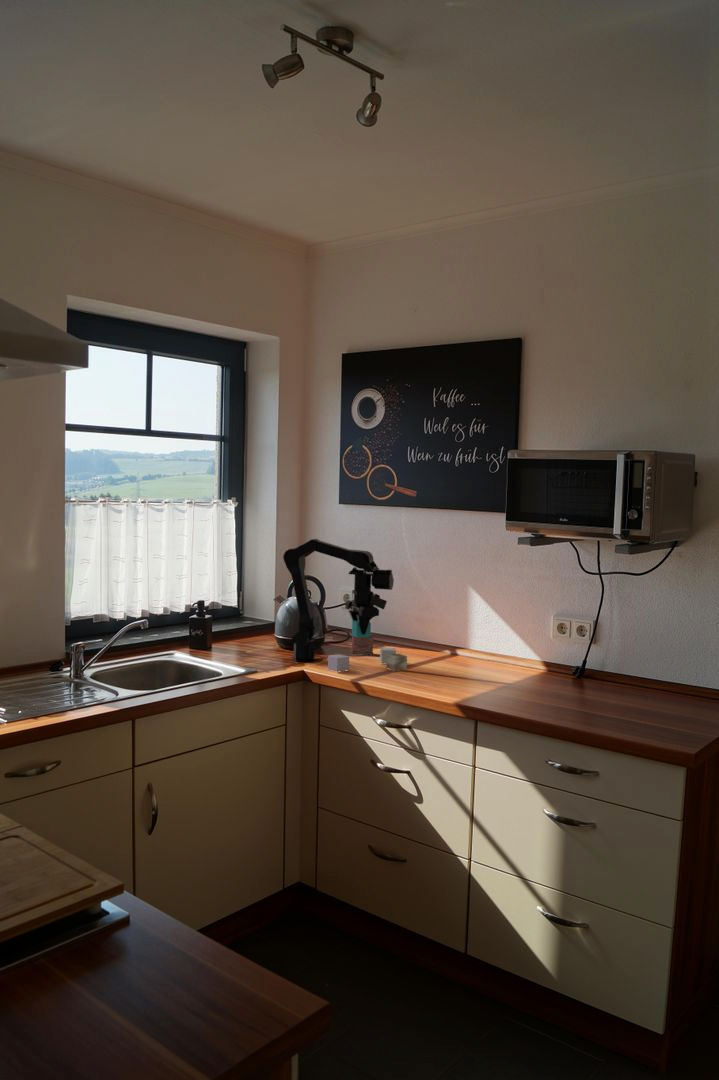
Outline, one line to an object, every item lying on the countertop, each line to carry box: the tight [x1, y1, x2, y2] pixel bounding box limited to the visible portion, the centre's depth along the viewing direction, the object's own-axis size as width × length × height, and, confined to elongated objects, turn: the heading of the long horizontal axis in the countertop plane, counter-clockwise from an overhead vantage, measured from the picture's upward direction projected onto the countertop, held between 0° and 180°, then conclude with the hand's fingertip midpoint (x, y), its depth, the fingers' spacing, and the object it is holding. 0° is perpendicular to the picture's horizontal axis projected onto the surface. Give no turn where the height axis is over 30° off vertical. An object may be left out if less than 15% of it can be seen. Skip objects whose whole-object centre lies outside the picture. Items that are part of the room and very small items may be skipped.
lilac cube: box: [327, 653, 350, 672], centre depth 292 cm, size 5×5×5 cm
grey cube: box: [379, 646, 397, 664], centre depth 307 cm, size 5×5×5 cm
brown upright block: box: [350, 633, 375, 656], centre depth 320 cm, size 8×3×10 cm, turn 84°
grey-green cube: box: [385, 653, 408, 671], centre depth 296 cm, size 5×5×5 cm
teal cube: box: [351, 620, 372, 638], centre depth 301 cm, size 5×5×5 cm
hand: (361, 633), depth 301 cm, fingers closed on teal cube, 5 cm apart
